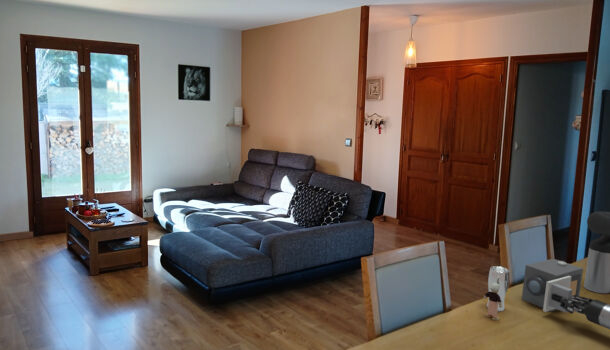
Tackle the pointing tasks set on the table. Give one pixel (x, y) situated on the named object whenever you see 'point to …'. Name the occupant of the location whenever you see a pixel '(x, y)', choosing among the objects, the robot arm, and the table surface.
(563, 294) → the side door
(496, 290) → the grandmother figurine
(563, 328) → the table surface
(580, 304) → the robot arm
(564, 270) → the box
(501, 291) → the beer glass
